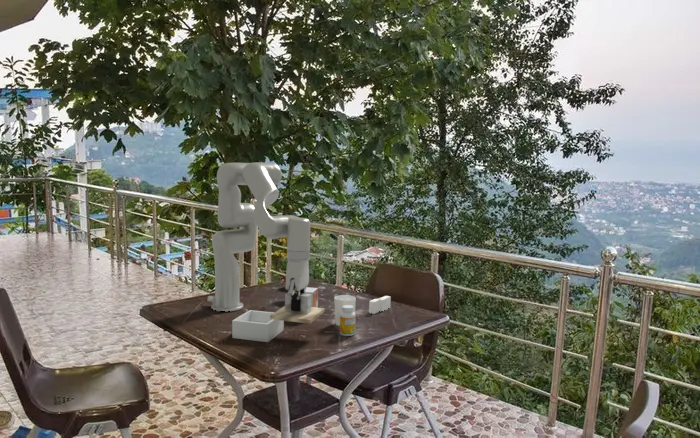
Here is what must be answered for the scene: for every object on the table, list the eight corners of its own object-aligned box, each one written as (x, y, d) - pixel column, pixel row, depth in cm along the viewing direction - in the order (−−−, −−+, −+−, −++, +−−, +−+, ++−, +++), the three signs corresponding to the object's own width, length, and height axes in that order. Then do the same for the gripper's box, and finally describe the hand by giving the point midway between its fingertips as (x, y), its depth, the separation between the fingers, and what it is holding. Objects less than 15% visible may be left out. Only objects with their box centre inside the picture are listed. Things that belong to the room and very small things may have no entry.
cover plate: (270, 319, 166) (270, 297, 166) (287, 307, 180) (287, 287, 179) (310, 323, 162) (310, 301, 162) (324, 311, 176) (324, 291, 175)
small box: (312, 319, 193) (313, 292, 192) (298, 318, 194) (298, 291, 193) (318, 313, 201) (318, 287, 200) (304, 312, 202) (304, 286, 201)
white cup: (339, 328, 183) (340, 301, 182) (330, 322, 190) (330, 296, 189) (359, 325, 187) (359, 299, 185) (349, 319, 193) (349, 294, 192)
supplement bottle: (339, 331, 180) (339, 304, 179) (354, 331, 180) (354, 304, 179) (340, 336, 175) (340, 308, 174) (355, 336, 175) (356, 308, 174)
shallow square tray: (232, 337, 171) (232, 320, 171) (250, 326, 184) (250, 310, 183) (267, 342, 168) (267, 324, 167) (283, 330, 180) (283, 313, 180)
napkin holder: (389, 306, 215) (389, 293, 214) (401, 314, 204) (401, 300, 203) (356, 309, 210) (356, 295, 209) (366, 317, 199) (366, 302, 198)
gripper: (297, 250, 178) (297, 302, 180) (277, 258, 162) (277, 315, 164) (317, 252, 176) (317, 304, 178) (299, 260, 160) (299, 317, 162)
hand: (298, 308), depth 171 cm, fingers closed on cover plate, 3 cm apart
